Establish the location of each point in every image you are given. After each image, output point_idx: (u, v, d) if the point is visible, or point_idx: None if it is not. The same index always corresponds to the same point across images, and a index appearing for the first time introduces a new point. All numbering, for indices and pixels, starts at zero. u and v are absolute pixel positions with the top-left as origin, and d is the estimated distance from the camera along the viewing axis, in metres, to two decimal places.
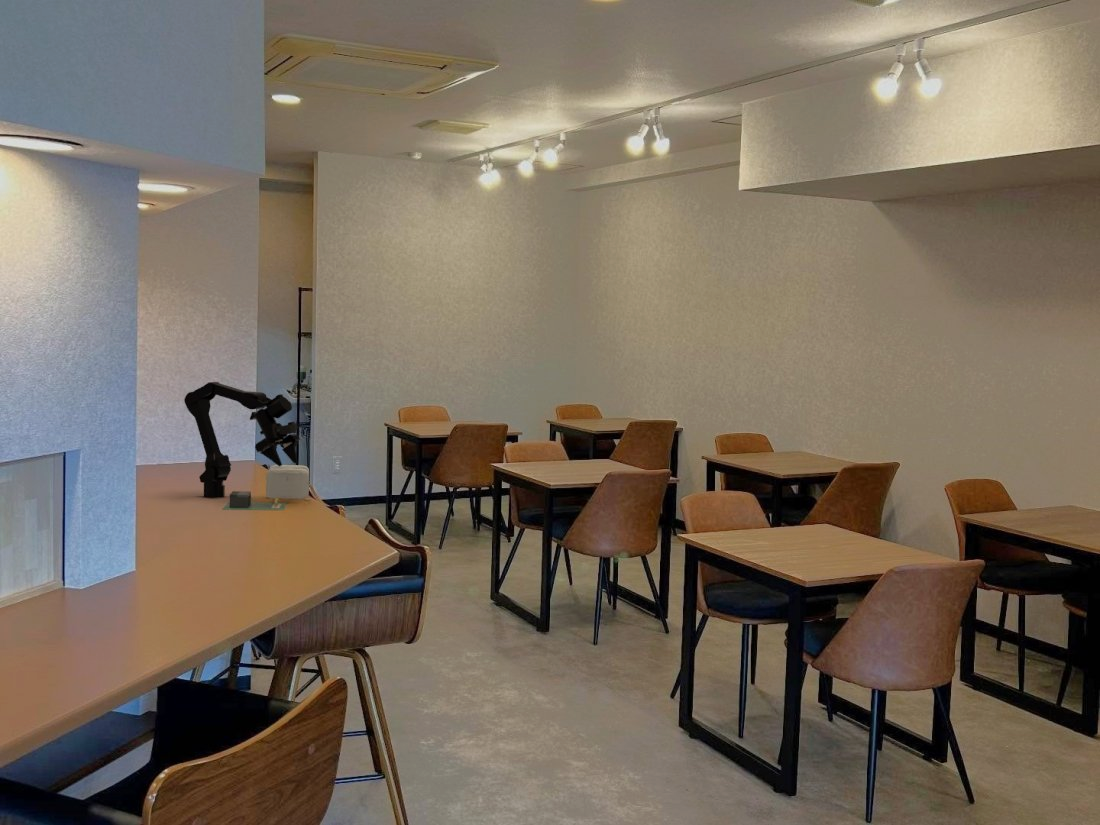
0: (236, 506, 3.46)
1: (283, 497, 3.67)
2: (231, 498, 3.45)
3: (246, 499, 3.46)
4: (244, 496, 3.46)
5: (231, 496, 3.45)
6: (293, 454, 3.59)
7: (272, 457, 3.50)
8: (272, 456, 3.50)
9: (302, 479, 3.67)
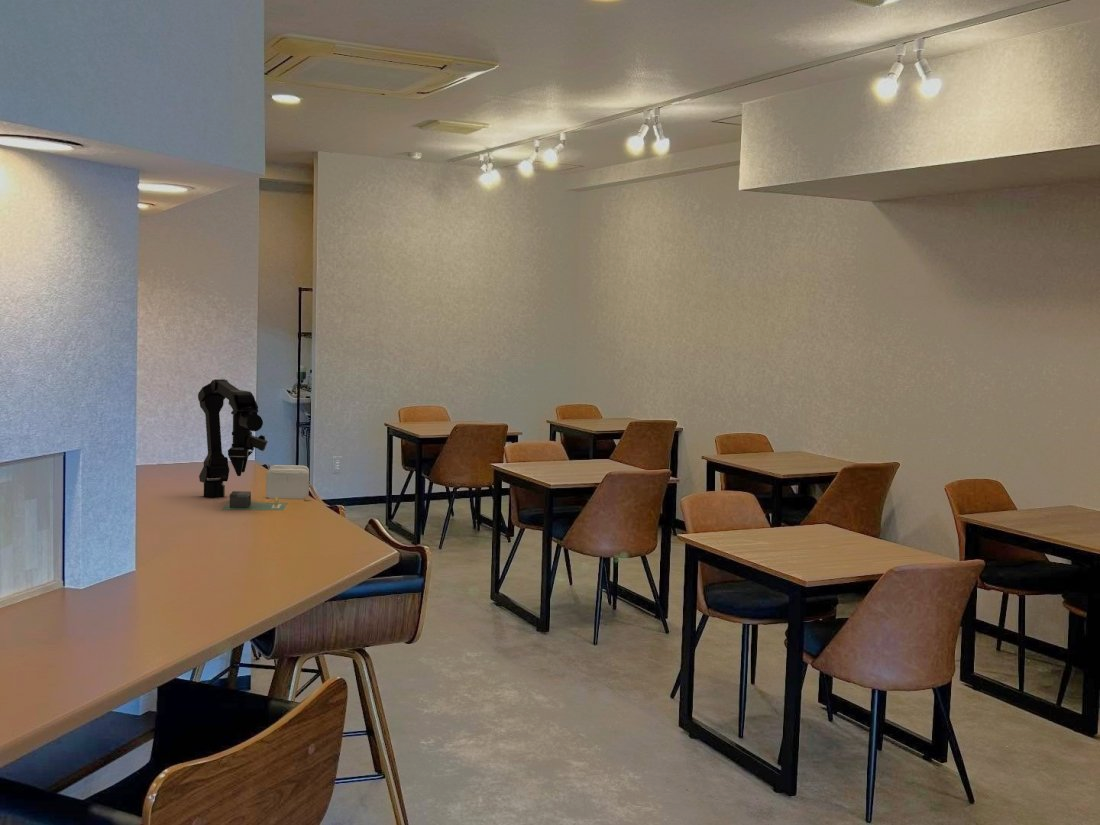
0: (236, 506, 3.46)
1: (283, 497, 3.67)
2: (231, 498, 3.45)
3: (246, 499, 3.46)
4: (244, 496, 3.46)
5: (231, 496, 3.45)
6: (244, 463, 3.53)
7: (236, 465, 3.43)
8: (237, 464, 3.43)
9: (302, 479, 3.67)
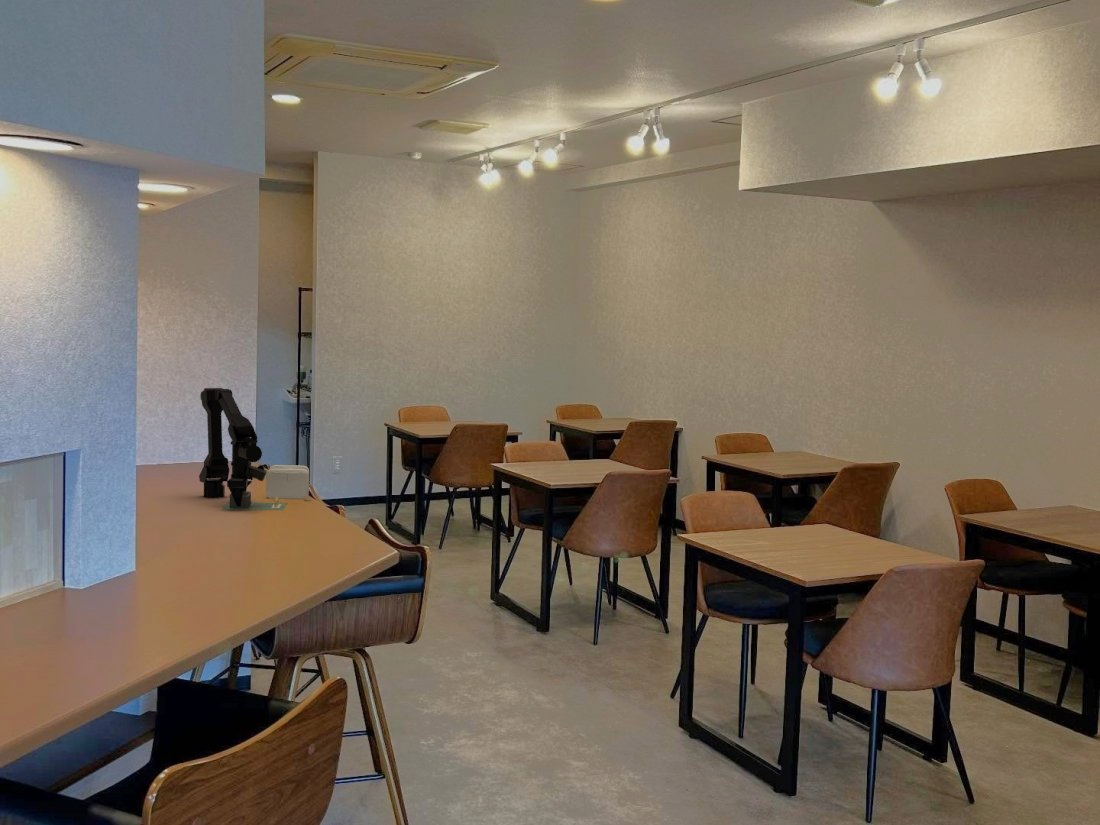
0: (236, 506, 3.46)
1: (283, 497, 3.67)
2: (231, 498, 3.45)
3: (246, 499, 3.46)
4: (244, 496, 3.46)
5: (231, 496, 3.45)
6: None
7: (236, 495, 3.44)
8: (236, 494, 3.44)
9: (302, 479, 3.67)
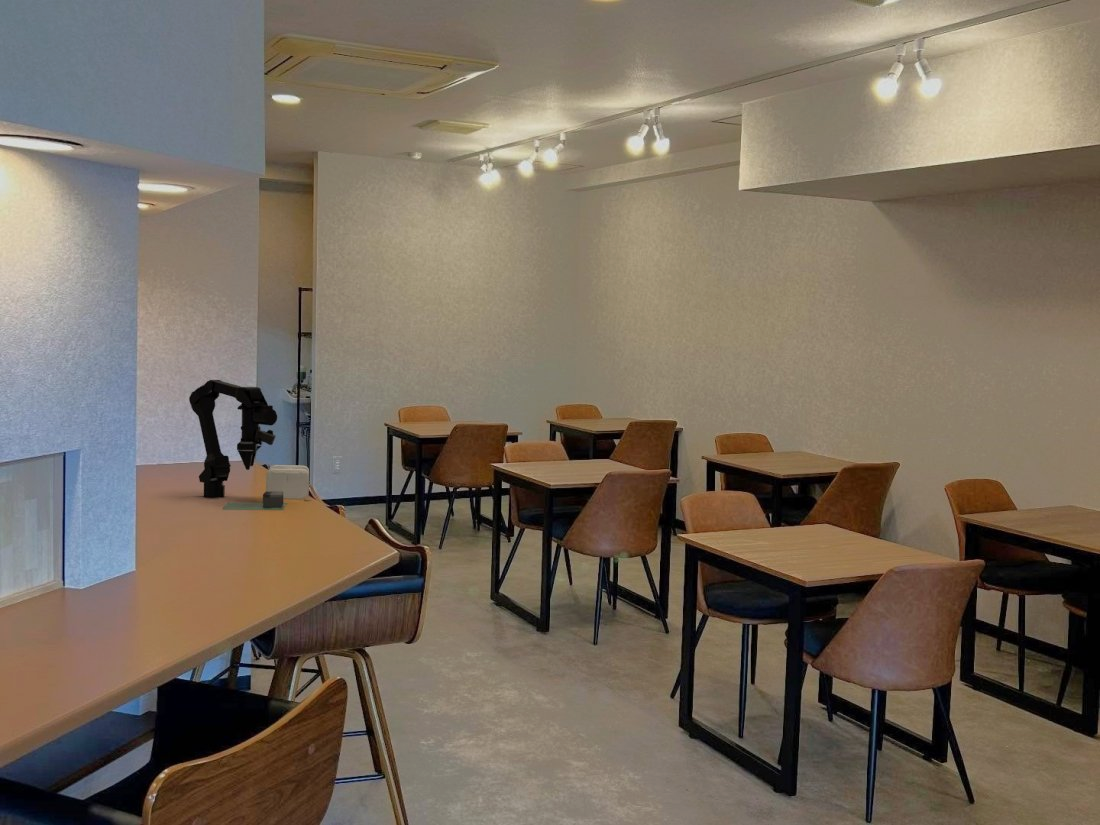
0: (269, 506, 3.47)
1: (283, 497, 3.67)
2: (264, 498, 3.47)
3: (279, 499, 3.48)
4: (277, 496, 3.47)
5: (264, 496, 3.47)
6: (253, 457, 3.60)
7: (245, 459, 3.50)
8: (246, 458, 3.50)
9: (302, 479, 3.67)
